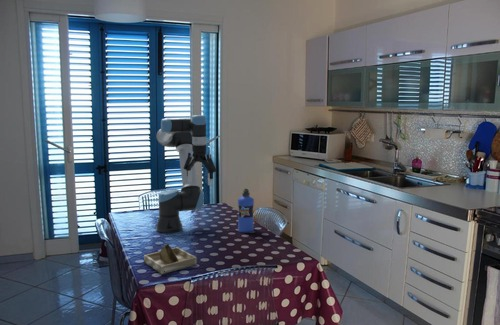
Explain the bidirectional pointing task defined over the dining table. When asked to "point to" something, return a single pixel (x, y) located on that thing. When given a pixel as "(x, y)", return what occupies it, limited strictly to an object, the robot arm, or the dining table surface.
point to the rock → (168, 255)
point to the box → (161, 266)
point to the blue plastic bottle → (245, 212)
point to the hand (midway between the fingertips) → (199, 183)
